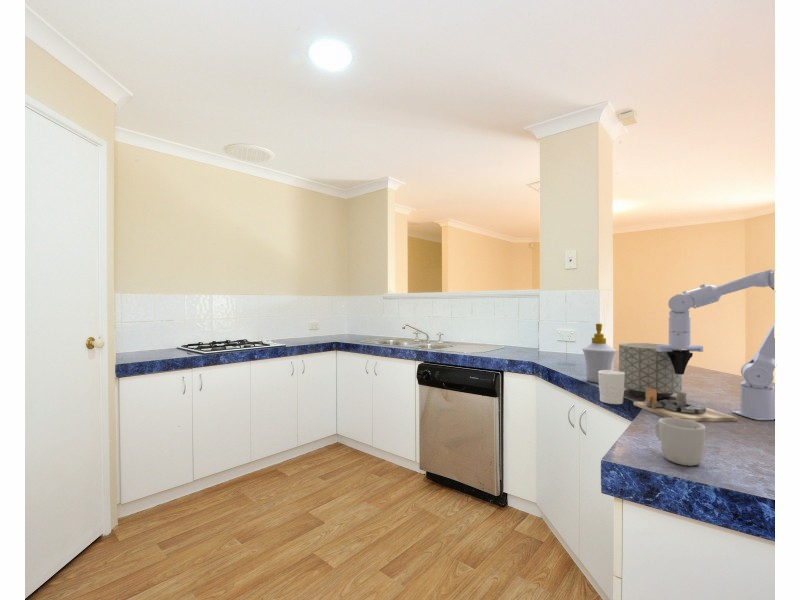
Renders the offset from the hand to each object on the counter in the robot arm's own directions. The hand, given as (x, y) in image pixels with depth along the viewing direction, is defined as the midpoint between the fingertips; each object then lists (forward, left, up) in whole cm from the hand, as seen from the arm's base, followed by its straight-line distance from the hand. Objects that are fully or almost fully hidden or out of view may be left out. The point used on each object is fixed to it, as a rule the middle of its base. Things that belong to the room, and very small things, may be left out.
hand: (679, 373), depth 125 cm
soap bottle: (+4, -39, -11) cm, 41 cm away
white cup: (+19, -6, -11) cm, 23 cm away
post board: (+5, +7, -10) cm, 13 cm away
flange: (+7, +6, -9) cm, 13 cm away
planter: (0, -14, -11) cm, 18 cm away
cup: (+34, +41, -11) cm, 54 cm away
